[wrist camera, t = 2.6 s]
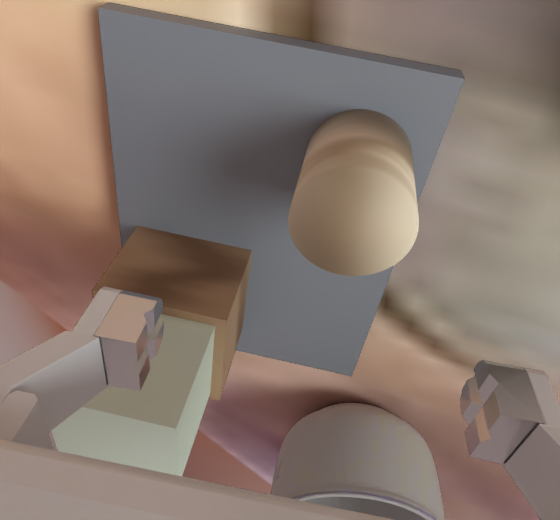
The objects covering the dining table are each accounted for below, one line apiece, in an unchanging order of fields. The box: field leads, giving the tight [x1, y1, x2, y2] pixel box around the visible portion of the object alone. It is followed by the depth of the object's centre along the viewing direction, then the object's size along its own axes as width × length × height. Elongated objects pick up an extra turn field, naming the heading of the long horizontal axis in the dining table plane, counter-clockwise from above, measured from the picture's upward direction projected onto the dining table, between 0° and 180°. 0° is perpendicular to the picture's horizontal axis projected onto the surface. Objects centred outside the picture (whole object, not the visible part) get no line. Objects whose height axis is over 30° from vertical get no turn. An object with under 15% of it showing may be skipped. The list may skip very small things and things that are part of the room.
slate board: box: [98, 3, 465, 376], centre depth 24 cm, size 14×18×1 cm
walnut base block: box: [92, 226, 252, 401], centre depth 24 cm, size 6×6×5 cm
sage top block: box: [51, 314, 215, 476], centre depth 20 cm, size 5×5×5 cm
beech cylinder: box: [288, 109, 419, 276], centre depth 18 cm, size 4×4×5 cm
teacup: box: [271, 403, 445, 520], centre depth 31 cm, size 14×11×8 cm
